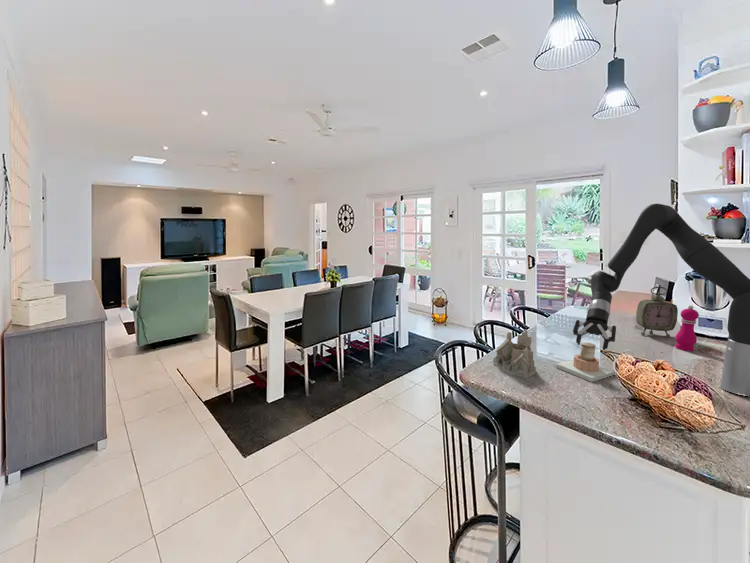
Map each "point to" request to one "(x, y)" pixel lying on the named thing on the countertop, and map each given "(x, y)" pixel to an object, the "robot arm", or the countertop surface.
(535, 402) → the countertop surface
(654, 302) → the tabletop clock
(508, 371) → the grey-brown toy castle
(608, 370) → the flat grey base plate
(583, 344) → the birch plug
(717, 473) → the countertop surface
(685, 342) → the pepper mill
